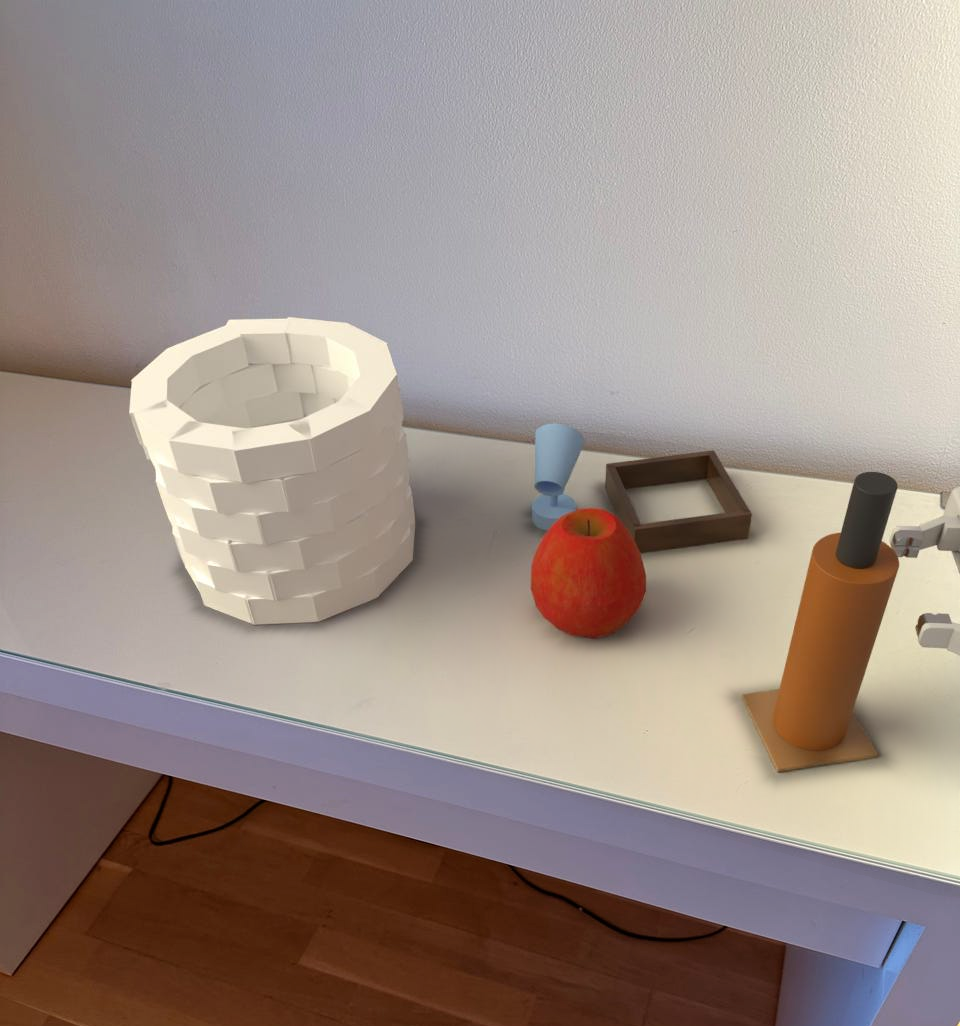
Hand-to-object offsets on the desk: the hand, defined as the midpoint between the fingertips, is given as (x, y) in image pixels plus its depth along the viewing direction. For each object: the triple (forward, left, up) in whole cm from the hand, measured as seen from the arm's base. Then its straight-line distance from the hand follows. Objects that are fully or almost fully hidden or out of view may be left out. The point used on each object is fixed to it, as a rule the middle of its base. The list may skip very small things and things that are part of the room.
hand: (905, 583), depth 66 cm
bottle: (+4, -1, -14) cm, 15 cm away
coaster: (+4, -1, -15) cm, 15 cm away
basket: (+44, -34, -15) cm, 57 cm away
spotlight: (+18, -33, -15) cm, 40 cm away
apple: (+18, -18, -15) cm, 29 cm away
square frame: (+6, -31, -15) cm, 35 cm away
